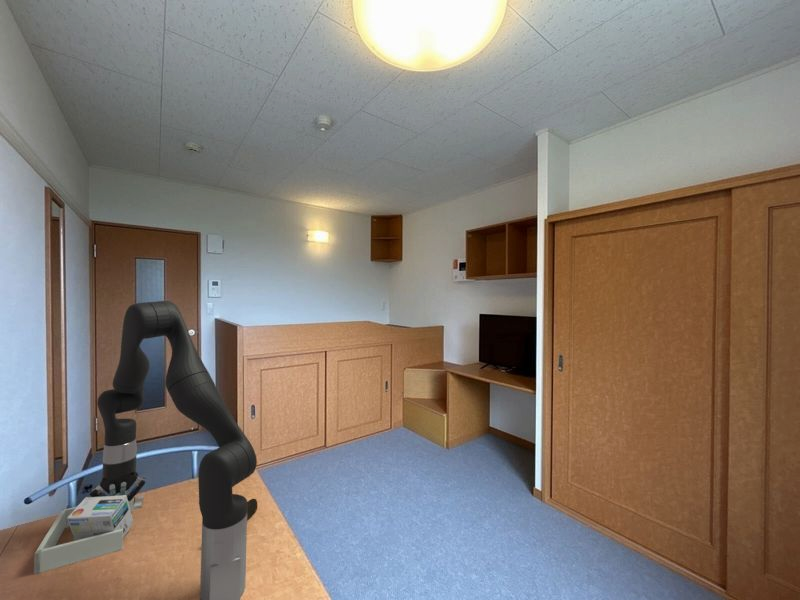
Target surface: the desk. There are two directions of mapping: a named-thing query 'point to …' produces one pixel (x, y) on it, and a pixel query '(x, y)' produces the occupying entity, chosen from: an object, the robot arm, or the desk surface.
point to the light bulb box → (100, 516)
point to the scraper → (138, 502)
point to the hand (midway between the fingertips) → (118, 516)
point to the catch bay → (74, 545)
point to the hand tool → (251, 508)
